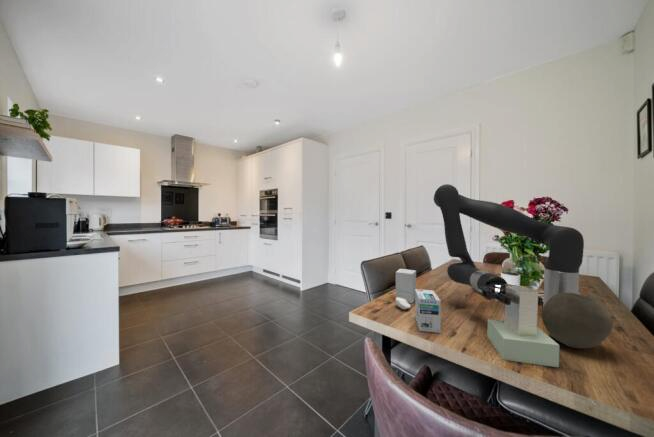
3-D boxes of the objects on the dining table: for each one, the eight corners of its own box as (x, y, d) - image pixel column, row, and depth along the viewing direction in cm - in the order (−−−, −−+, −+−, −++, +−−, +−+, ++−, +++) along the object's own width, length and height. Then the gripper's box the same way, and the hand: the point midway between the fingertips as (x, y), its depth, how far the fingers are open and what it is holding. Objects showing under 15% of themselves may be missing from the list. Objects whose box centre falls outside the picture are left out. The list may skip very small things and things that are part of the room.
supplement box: (416, 298, 110) (416, 270, 109) (412, 303, 104) (412, 273, 103) (399, 295, 114) (400, 268, 113) (394, 300, 108) (395, 271, 107)
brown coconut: (596, 365, 63) (598, 307, 62) (531, 338, 76) (533, 290, 75) (620, 352, 68) (622, 299, 68) (556, 329, 81) (558, 284, 81)
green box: (533, 343, 74) (533, 323, 73) (558, 368, 62) (559, 345, 62) (487, 338, 77) (487, 319, 77) (503, 360, 65) (504, 338, 65)
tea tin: (521, 326, 72) (522, 285, 71) (536, 335, 67) (538, 291, 66) (504, 326, 71) (505, 285, 71) (518, 335, 66) (520, 291, 66)
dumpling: (392, 305, 102) (392, 296, 101) (403, 304, 103) (403, 295, 103) (402, 312, 95) (402, 302, 95) (413, 311, 96) (414, 301, 96)
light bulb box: (441, 333, 79) (441, 300, 78) (419, 331, 80) (419, 298, 80) (433, 319, 89) (434, 289, 89) (414, 317, 91) (414, 288, 90)
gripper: (466, 272, 83) (499, 288, 67) (509, 272, 83) (552, 288, 67) (466, 294, 84) (498, 315, 67) (508, 294, 83) (551, 315, 67)
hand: (525, 301), depth 67 cm, fingers open, 8 cm apart
